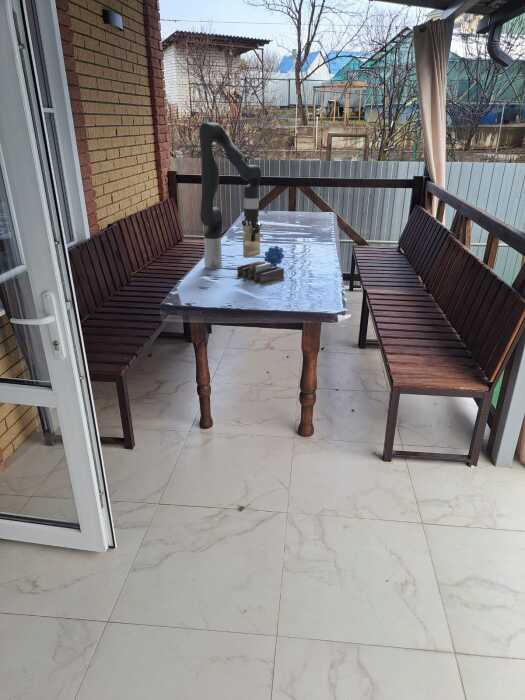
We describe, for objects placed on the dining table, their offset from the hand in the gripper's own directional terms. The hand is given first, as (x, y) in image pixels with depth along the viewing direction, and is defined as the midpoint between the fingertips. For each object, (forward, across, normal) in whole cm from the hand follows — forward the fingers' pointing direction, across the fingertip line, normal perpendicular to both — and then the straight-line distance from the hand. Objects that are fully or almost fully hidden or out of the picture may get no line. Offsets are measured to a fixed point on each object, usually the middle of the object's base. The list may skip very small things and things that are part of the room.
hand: (251, 240), depth 255 cm
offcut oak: (+18, +5, 0) cm, 18 cm away
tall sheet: (+8, 0, 0) cm, 8 cm away
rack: (+19, +7, 0) cm, 21 cm away
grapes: (+20, -6, +23) cm, 31 cm away
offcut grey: (+18, +9, 0) cm, 20 cm away
